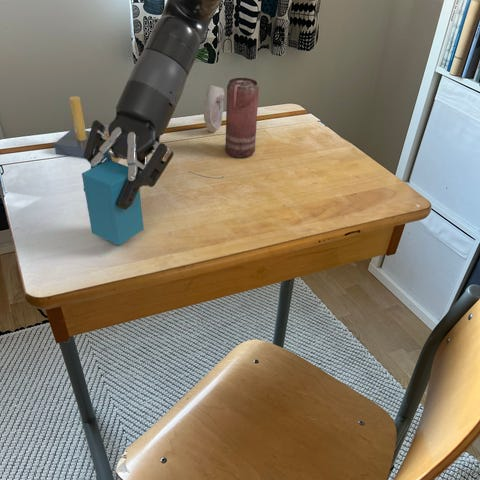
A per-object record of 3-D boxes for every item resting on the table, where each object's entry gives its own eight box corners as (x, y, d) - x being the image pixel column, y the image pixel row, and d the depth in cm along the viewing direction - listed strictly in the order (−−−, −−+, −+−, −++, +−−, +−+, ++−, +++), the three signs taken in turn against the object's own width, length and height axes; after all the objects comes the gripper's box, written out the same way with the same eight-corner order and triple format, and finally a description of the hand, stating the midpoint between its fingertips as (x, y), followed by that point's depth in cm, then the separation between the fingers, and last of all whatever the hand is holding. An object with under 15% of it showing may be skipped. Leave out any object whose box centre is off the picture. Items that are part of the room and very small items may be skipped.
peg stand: (55, 153, 102) (44, 102, 95) (73, 137, 108) (65, 88, 101) (93, 159, 101) (85, 108, 94) (109, 142, 107) (102, 93, 100)
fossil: (211, 139, 111) (211, 91, 104) (198, 134, 112) (197, 87, 105) (226, 130, 114) (227, 83, 107) (213, 126, 116) (213, 79, 109)
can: (220, 156, 105) (222, 84, 95) (230, 144, 109) (233, 74, 100) (249, 161, 103) (253, 89, 94) (258, 149, 108) (262, 79, 98)
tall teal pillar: (117, 217, 83) (109, 159, 76) (143, 229, 80) (138, 170, 74) (91, 233, 79) (81, 173, 72) (119, 245, 77) (110, 185, 70)
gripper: (100, 67, 73) (52, 176, 74) (180, 91, 68) (128, 207, 68) (128, 95, 80) (84, 194, 81) (203, 119, 75) (156, 224, 75)
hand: (104, 200), depth 74 cm, fingers closed on tall teal pillar, 5 cm apart
